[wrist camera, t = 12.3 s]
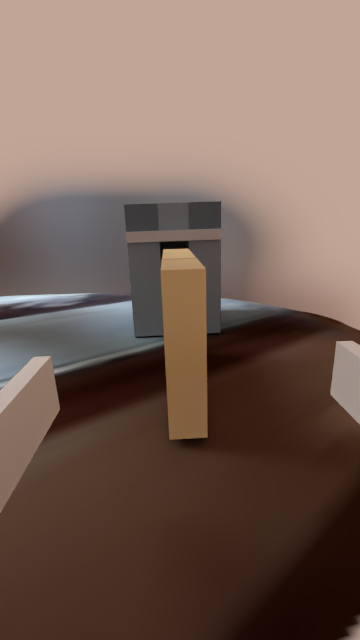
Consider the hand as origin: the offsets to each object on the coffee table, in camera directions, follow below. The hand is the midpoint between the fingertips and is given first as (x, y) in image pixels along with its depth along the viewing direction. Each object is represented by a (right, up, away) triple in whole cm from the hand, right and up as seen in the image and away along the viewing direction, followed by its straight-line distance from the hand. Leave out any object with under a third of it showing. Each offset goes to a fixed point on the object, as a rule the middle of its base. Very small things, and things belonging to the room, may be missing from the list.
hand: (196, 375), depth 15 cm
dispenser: (-1, +2, +32) cm, 32 cm away
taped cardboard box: (-1, -3, +13) cm, 13 cm away
